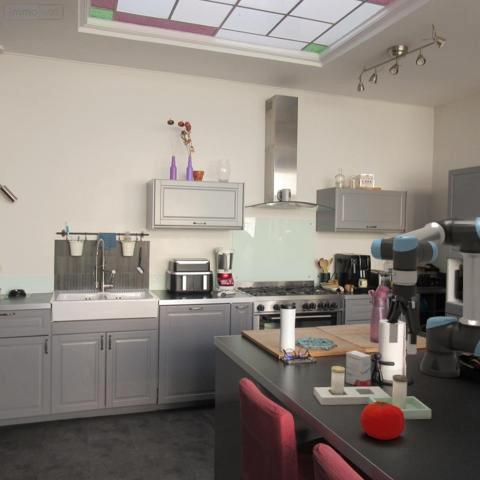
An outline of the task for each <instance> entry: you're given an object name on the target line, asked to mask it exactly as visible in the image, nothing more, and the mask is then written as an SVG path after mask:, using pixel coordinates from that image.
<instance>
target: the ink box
mask: <svg viewBox="0 0 480 480" xmlns="http://www.w3.org/2000/svg"><path fill="white" fill-rule="evenodd" d="M345 355H346V357H345V358H346V359H345V361H346V364H345V366H346V367H345V374H346V375H345V382H346V383H347V384H351V385H354V386H355V387H372V372H371V371H372V355H370V354H368V353H367V354H366V353H364V352H361V351H358V350H351V351H346V354H345Z"/></svg>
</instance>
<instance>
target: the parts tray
mask: <svg viewBox="0 0 480 480" xmlns="http://www.w3.org/2000/svg"><path fill="white" fill-rule="evenodd" d="M377 401H378V402H379V401H383V402H387V403H389V404H391V405H392V396H390V397H369V404H373V403H374V402H377ZM369 404H368V405H369ZM401 411H402V412H403V414H404V419H405V420H426V419H429V420H431V419H432V409H431V408H430V407H428V406H427V405H426V404H424V403H423V402H422V401H420V400H419V399H418V397H417V398H416V396H413V395H412V396H411V395H410V396H409V395H408V396H407V397H406V409H401Z"/></svg>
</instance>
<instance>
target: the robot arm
mask: <svg viewBox="0 0 480 480" xmlns="http://www.w3.org/2000/svg"><path fill="white" fill-rule="evenodd" d="M440 246H444V247H445V246H448V247H458V252H459V254H461V256H463V258H462V259H463V260H462V261H463V263H462V264H463V266H462V269H463V271H462V272H463V273H462V275H463V277H462V278H463V279H462V281H463V283H462V285H463V286H462V287H463V288H462V317H460V318H459V319H458V318H457V316H456V317H454V316H433V317H432V316H431V317H429V318H428V319H427V320H426V327H425V352H424V354H423V355H424V356H423V357H422V360H421V363H420V366H419V367H420V368H419V369H420V372H421V373H424V374H425V375H428V376H432V377H437V378H443V379H444V378H448V379H449V378H457V377H460V367H459V363H458V360H457V352H458V353H463V354H467V355H471V356H475V357H480V216H479V217H466V216H465V217H464V216H463V217H462V216H461V217H457V216H454V217H445V218H441V219H438V220H436V221H435V220H434V221H431V222H429V223H427V224H425V225H424V226H423V227H422V228H419V229H418V228H417V229H414V230H413V231H409V232H405V233H403V234H400V235H395V236H392V237H390V238H376V239H374V240H373V241H372V242H371V245H370V254H371V257H372V258H373V259H376V260H381V261H391V262H392V273H391V276H392V279H391V280H392V282H393V283H392V284H391V296H390V303H389V307H388V310H387V315H386V317H385V318H386V320H387V321H388V323H389V324H388V325H389V328H388V331H389V332H388V333H389V334H388V343H390V344H393V343H394V344H398V340H399V339H398V338H399V337H398V336H399V335H398V334H399V319H400V317H401V314H402V315H403V316H404V320H405V323H406V327H407V330H408V331H407V341H406V342H407V345H406V347H407V348H406V354H407V355H417V348H418V344H417V343H418V339H417V338H418V334H421V333H422V327H421V323H420V322H421V321H420V317H419V311H418V302H417V301H413V300H412V298H413V297H416V295H417V285H416V283H417V282H418V281H417V280H418V279H417V278H418V264H419V265H421V264H429V263H432V262H434V261H436V259H437V258H438V257H439V256H438V255H439V248H438V247H440Z"/></svg>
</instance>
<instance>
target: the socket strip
mask: <svg viewBox="0 0 480 480" xmlns="http://www.w3.org/2000/svg"><path fill="white" fill-rule="evenodd" d="M330 370H331V381H330V382H331V383H330V386H328V387H327V386H325V387H324V386H323V387H320V386H319V387H318V386H317V387H315V386H314V387H313V396H314V397H315V398H316V400H317V401H318V402H319V403H320V405H321V406H331V405H333V406H334V405H335V406H338V405H369V397H391V395H389V394H388V393H387V392H386V391H384V389H382V387H380V386H368V387H358V386H345V376H346V375H345V374H346V367H344V366H341V365H333V366H331V369H330Z"/></svg>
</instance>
